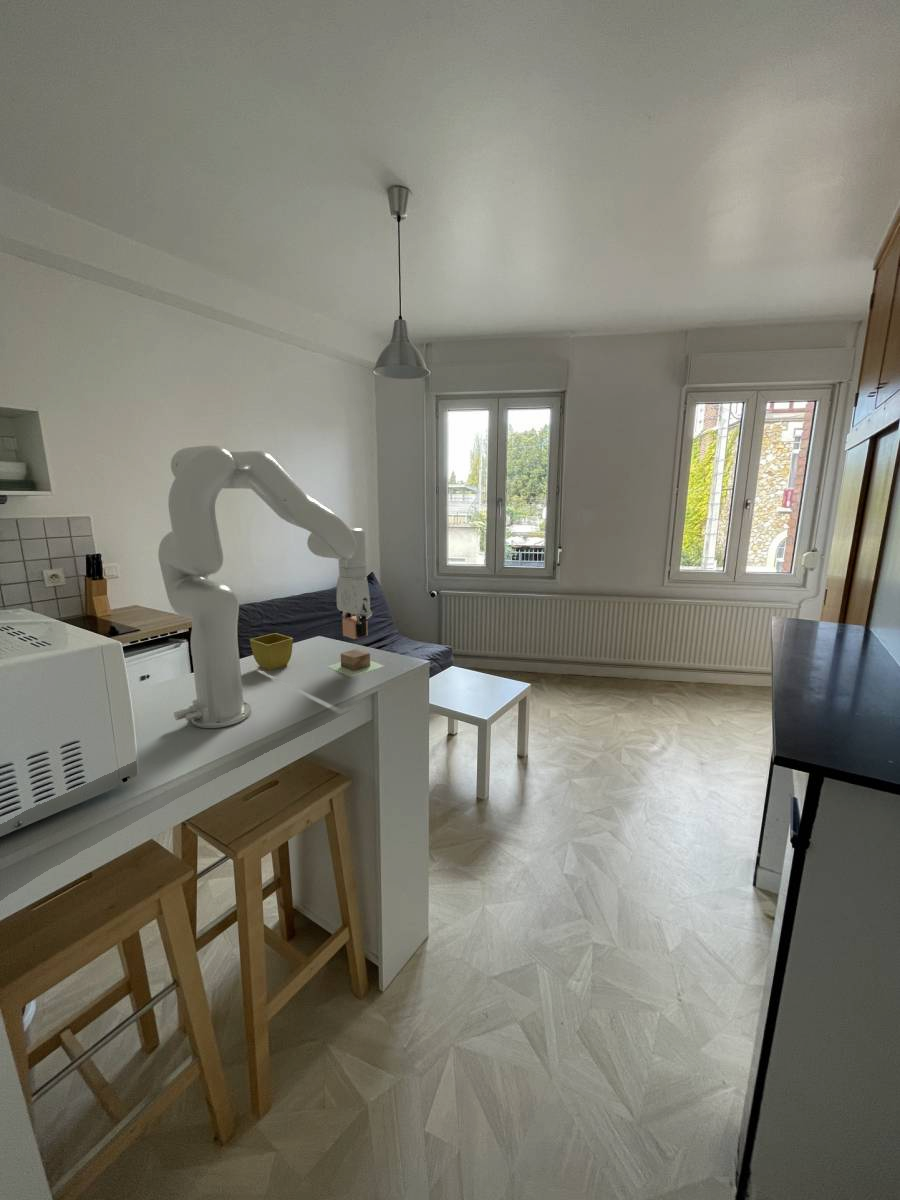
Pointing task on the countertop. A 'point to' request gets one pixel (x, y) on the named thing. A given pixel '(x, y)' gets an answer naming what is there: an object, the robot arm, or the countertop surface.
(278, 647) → the flower pot
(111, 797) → the countertop surface
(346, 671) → the plate
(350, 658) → the base block
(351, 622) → the cube
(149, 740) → the countertop surface
